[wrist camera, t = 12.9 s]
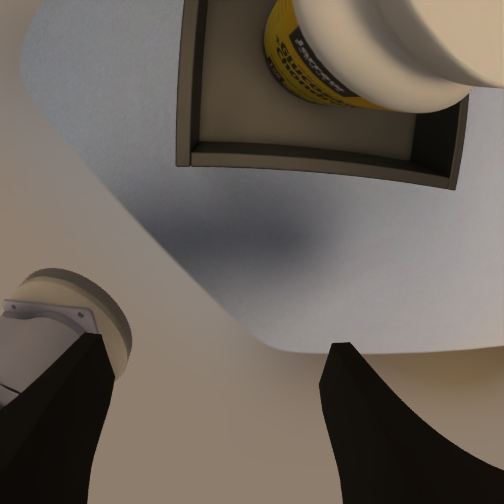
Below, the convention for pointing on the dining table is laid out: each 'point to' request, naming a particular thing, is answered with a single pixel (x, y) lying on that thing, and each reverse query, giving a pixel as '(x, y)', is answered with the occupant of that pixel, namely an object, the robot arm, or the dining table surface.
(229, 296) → the dining table surface
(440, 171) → the bin
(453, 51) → the pill bottle
